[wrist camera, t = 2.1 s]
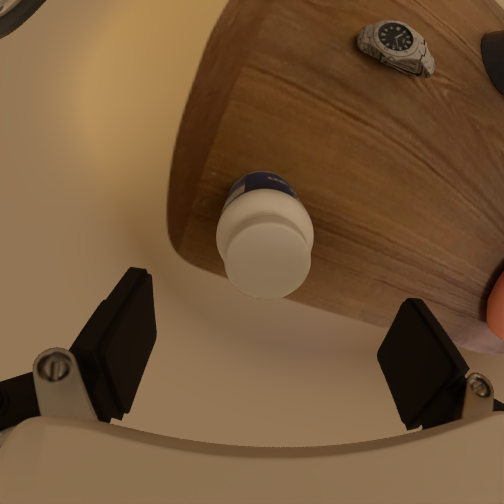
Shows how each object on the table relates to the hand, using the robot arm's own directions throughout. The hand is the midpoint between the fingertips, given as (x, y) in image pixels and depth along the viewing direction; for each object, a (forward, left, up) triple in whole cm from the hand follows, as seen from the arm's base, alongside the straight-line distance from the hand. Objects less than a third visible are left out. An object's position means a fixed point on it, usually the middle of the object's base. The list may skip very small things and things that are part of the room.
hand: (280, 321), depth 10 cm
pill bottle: (0, 0, -14) cm, 14 cm away
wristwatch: (-14, +8, -14) cm, 21 cm away
